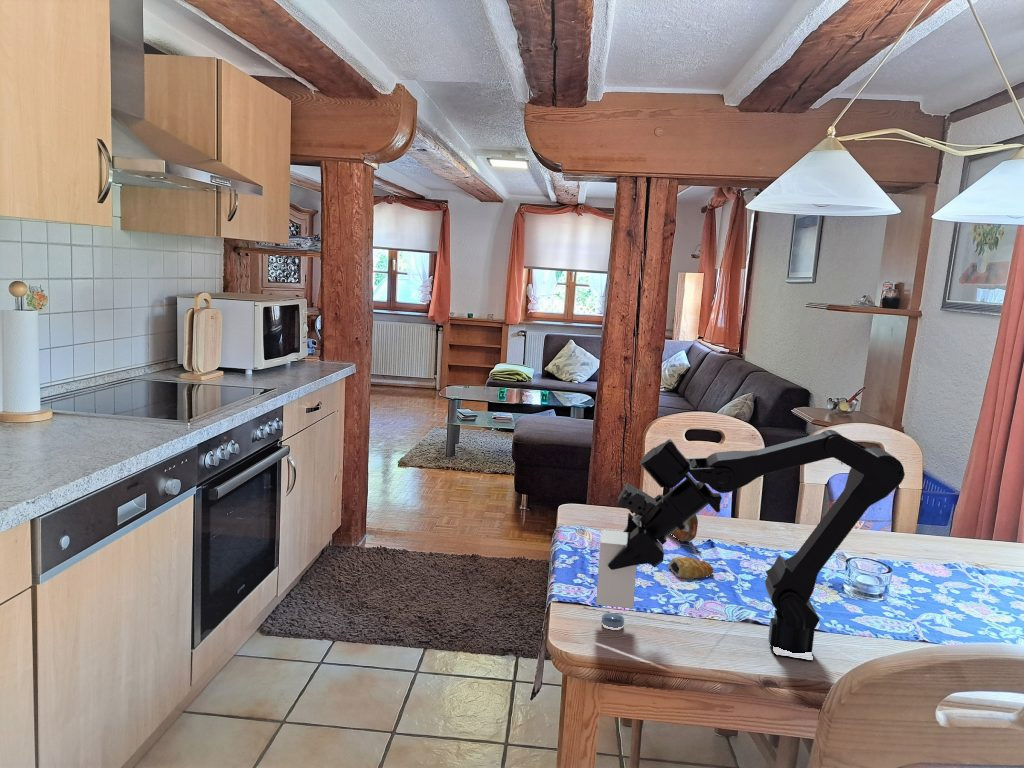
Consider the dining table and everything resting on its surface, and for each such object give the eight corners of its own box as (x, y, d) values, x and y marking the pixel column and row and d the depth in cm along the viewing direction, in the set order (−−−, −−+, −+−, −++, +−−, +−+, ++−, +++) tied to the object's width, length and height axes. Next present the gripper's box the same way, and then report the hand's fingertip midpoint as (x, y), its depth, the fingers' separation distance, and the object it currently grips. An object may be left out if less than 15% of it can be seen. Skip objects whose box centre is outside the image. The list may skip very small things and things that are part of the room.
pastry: (702, 567, 162) (704, 551, 161) (719, 580, 155) (721, 563, 155) (665, 570, 159) (666, 553, 158) (680, 583, 153) (682, 566, 152)
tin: (656, 525, 187) (658, 494, 186) (667, 525, 188) (669, 493, 187) (686, 547, 173) (689, 513, 172) (698, 546, 174) (701, 512, 173)
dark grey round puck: (624, 624, 132) (624, 614, 132) (622, 634, 129) (623, 624, 128) (602, 620, 133) (603, 611, 133) (600, 630, 129) (600, 620, 129)
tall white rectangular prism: (633, 593, 133) (637, 533, 131) (633, 608, 126) (637, 546, 125) (597, 589, 134) (601, 529, 132) (596, 604, 127) (600, 542, 126)
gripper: (646, 459, 135) (583, 510, 138) (648, 487, 117) (576, 545, 120) (685, 503, 135) (622, 553, 138) (694, 538, 117) (620, 595, 120)
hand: (610, 560), depth 129 cm, fingers closed on tall white rectangular prism, 6 cm apart
